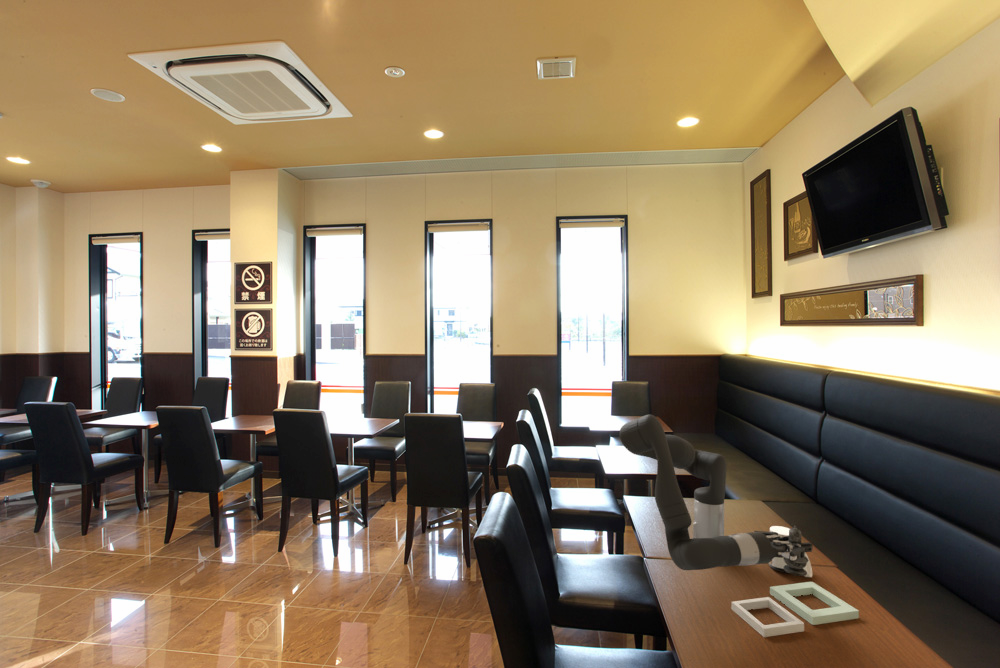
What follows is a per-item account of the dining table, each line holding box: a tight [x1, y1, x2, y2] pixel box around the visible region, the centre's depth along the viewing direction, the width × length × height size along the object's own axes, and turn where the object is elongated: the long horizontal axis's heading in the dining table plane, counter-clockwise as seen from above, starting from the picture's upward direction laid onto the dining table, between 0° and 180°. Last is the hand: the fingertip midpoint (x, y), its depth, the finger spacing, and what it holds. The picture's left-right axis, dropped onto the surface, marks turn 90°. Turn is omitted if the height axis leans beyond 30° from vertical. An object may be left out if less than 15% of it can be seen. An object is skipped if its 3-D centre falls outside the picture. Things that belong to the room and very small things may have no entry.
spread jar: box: [768, 525, 813, 578], centre depth 142 cm, size 12×11×12 cm
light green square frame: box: [769, 581, 860, 626], centre depth 124 cm, size 14×14×2 cm
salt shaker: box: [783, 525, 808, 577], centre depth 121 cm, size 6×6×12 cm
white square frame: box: [730, 596, 805, 638], centre depth 118 cm, size 11×11×2 cm
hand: (804, 543), depth 122 cm, fingers closed on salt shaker, 3 cm apart
